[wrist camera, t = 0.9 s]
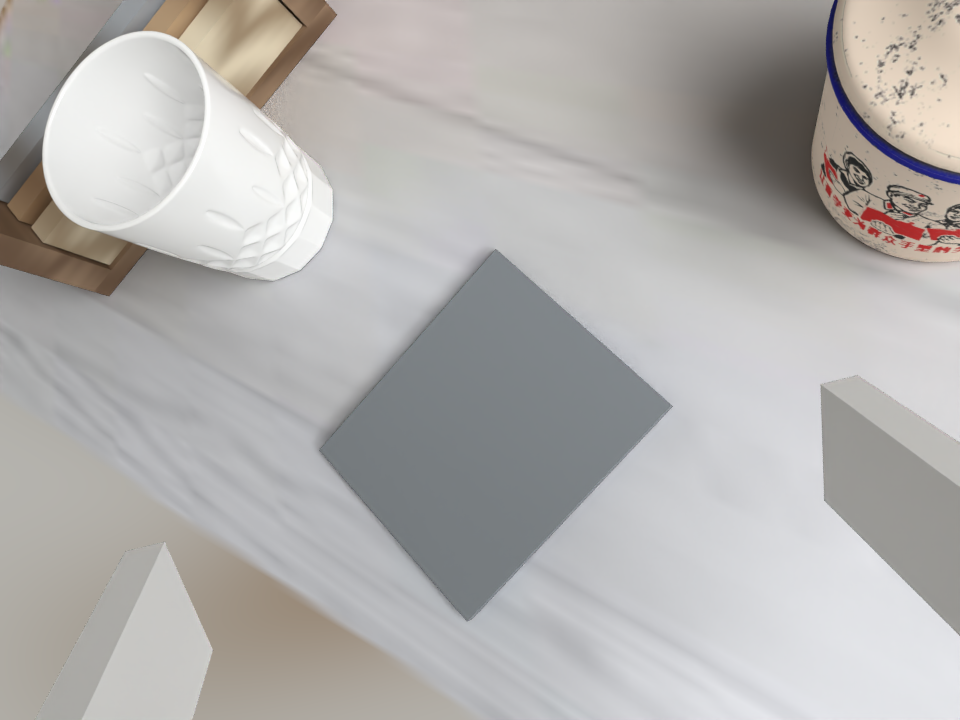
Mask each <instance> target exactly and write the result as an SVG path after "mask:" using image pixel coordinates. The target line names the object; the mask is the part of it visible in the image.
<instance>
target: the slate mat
mask: <svg viewBox="0 0 960 720" xmlns="http://www.w3.org/2000/svg"><path fill="white" fill-rule="evenodd" d="M672 407H673V406H672V405H671V404H670V403H669V402H667V401H666V400H665V399H664V398H663V397H662V396H661V395H660V394H658V393H657V392H656V391H655V390H654V389H653V388H652V387H651V386H649V385H648V384H647V383H646V382H645V381H644V380H643V379H642V378H640V377H639V376H638V375H637V374H636V373H635V372H634V371H633V370H631V369H630V368H629V367H628V366H627V365H626V364H625V363H624V362H622V361H621V360H620V359H619V358H618V357H617V356H616V355H615V354H613V353H612V352H611V351H610V350H609V349H608V348H607V347H606V346H604V345H603V344H602V343H601V342H600V341H599V340H598V339H597V338H595V337H594V336H593V335H592V334H591V333H590V332H589V331H588V330H586V329H585V328H584V327H583V326H582V325H581V324H580V323H579V322H577V321H576V320H575V319H574V318H573V317H572V316H571V315H570V314H568V313H567V312H566V311H565V310H564V309H563V308H562V307H561V306H559V305H558V304H557V303H556V302H555V301H554V300H553V299H552V298H550V297H549V296H548V295H547V294H546V293H545V292H544V291H543V290H541V289H540V288H539V287H538V286H537V285H536V284H535V283H534V282H532V281H531V280H530V279H529V278H528V277H527V276H526V275H525V274H523V273H522V272H521V271H520V270H519V269H518V268H517V267H516V266H514V265H513V264H512V263H511V262H510V261H509V260H508V259H507V258H505V257H504V256H503V255H502V254H501V253H500V252H499V251H498V250H495V251H494V252H493V253H492V254H491V255H490V256H489V258H488V259H487V260H486V261H485V262H484V263H483V264H482V266H481V267H480V268H479V269H478V270H477V271H476V272H475V273H474V275H473V276H472V277H471V278H470V279H469V280H468V281H467V283H466V284H465V285H464V286H463V287H462V288H461V289H460V291H459V292H458V293H457V294H456V295H455V296H454V297H453V299H452V300H451V301H450V302H449V303H448V304H447V305H446V306H445V308H444V309H443V310H442V311H441V312H440V313H439V314H438V316H437V317H436V318H435V319H434V320H433V321H432V322H431V324H430V325H429V326H428V327H427V328H426V329H425V330H424V332H423V333H422V334H421V335H420V336H419V337H418V338H417V339H416V341H415V342H414V343H413V344H412V345H411V346H410V347H409V349H408V350H407V351H406V352H405V353H404V354H403V355H402V357H401V358H400V359H399V360H398V361H397V362H396V363H395V364H394V366H393V367H392V368H391V369H390V370H389V371H388V372H387V374H386V375H385V376H384V377H383V378H382V379H381V380H380V382H379V383H378V384H377V385H376V386H375V387H374V388H373V390H372V391H371V392H370V393H369V394H368V395H367V396H366V397H365V399H364V400H363V401H362V402H361V403H360V404H359V405H358V407H357V408H356V409H355V410H354V411H353V412H352V413H351V415H350V416H349V417H348V418H347V419H346V420H345V421H344V423H343V424H342V425H341V426H340V427H339V428H338V429H337V430H336V432H335V433H334V434H333V435H332V436H331V437H330V438H329V440H328V441H327V442H326V443H325V444H324V445H323V446H322V448H321V449H320V452H321V453H322V454H323V455H324V456H325V457H326V459H327V460H328V461H329V462H330V463H331V464H332V466H333V467H334V468H335V469H336V470H337V471H338V472H339V474H340V475H341V476H342V477H343V478H344V479H345V481H346V482H347V483H348V484H349V485H350V486H351V488H352V489H353V490H354V491H355V492H356V493H357V494H358V496H359V497H360V498H361V499H362V500H363V501H364V503H365V504H366V505H367V506H368V507H369V508H370V510H371V511H372V512H373V513H374V514H375V515H376V516H377V518H378V519H379V520H380V521H381V522H382V523H383V525H384V526H385V527H386V528H387V529H388V530H389V532H390V533H391V534H392V535H393V536H394V537H395V539H396V540H397V541H398V542H399V543H400V544H401V545H402V547H403V548H404V549H405V550H406V551H407V552H408V554H409V555H410V556H411V557H412V558H413V559H414V561H415V562H416V563H417V564H418V565H419V566H420V567H421V569H422V570H423V571H424V572H425V573H426V574H427V576H428V577H429V578H430V579H431V580H432V581H433V583H434V584H435V585H436V586H437V587H438V588H439V589H440V591H441V592H442V593H443V594H444V595H445V596H446V598H447V599H448V600H449V601H450V602H451V603H452V605H453V606H454V607H455V608H456V609H457V610H458V612H459V613H460V614H461V615H462V616H463V617H464V618H465V620H466V621H469V620H471V619H472V618H473V617H474V616H475V615H476V614H477V613H478V612H479V611H480V610H481V609H482V608H483V607H484V606H485V605H486V604H487V603H488V602H489V600H490V599H491V598H492V597H493V596H494V595H495V594H496V593H497V592H498V591H499V590H500V589H501V588H502V587H503V586H504V585H505V584H506V582H507V581H508V580H509V579H510V578H511V577H512V576H513V575H514V574H515V573H516V572H517V571H518V570H519V569H520V568H521V567H522V566H523V564H524V563H525V562H526V561H527V560H528V559H529V558H530V557H531V556H532V555H533V554H534V553H535V552H536V551H537V550H538V549H539V548H540V546H541V545H542V544H543V543H544V542H545V541H546V540H547V539H548V538H549V537H550V536H551V535H552V534H553V533H554V532H555V531H556V529H557V528H558V527H559V526H560V525H561V524H562V523H563V522H564V521H565V520H566V519H567V518H568V517H569V516H570V515H571V514H572V513H573V511H574V510H575V509H576V508H577V507H578V506H579V505H580V504H581V503H582V502H583V501H584V500H585V499H586V498H587V497H588V496H589V495H590V493H591V492H592V491H593V490H594V489H595V488H596V487H597V486H598V485H599V484H600V483H601V482H602V481H603V480H604V479H605V478H606V477H607V475H608V474H609V473H610V472H611V471H612V470H613V469H614V468H615V467H616V466H617V465H618V464H619V463H620V462H621V461H622V460H623V459H624V457H625V456H626V455H627V454H628V453H629V452H630V451H631V450H632V449H633V448H634V447H635V446H636V445H637V444H638V443H639V442H640V440H641V439H642V438H643V437H644V436H645V435H646V434H647V433H648V432H649V431H650V430H651V429H652V428H653V427H654V426H655V425H656V424H657V422H658V421H659V420H660V419H661V418H662V417H663V416H664V415H665V414H666V413H667V412H668V411H669V410H670V409H671V408H672Z"/></svg>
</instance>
